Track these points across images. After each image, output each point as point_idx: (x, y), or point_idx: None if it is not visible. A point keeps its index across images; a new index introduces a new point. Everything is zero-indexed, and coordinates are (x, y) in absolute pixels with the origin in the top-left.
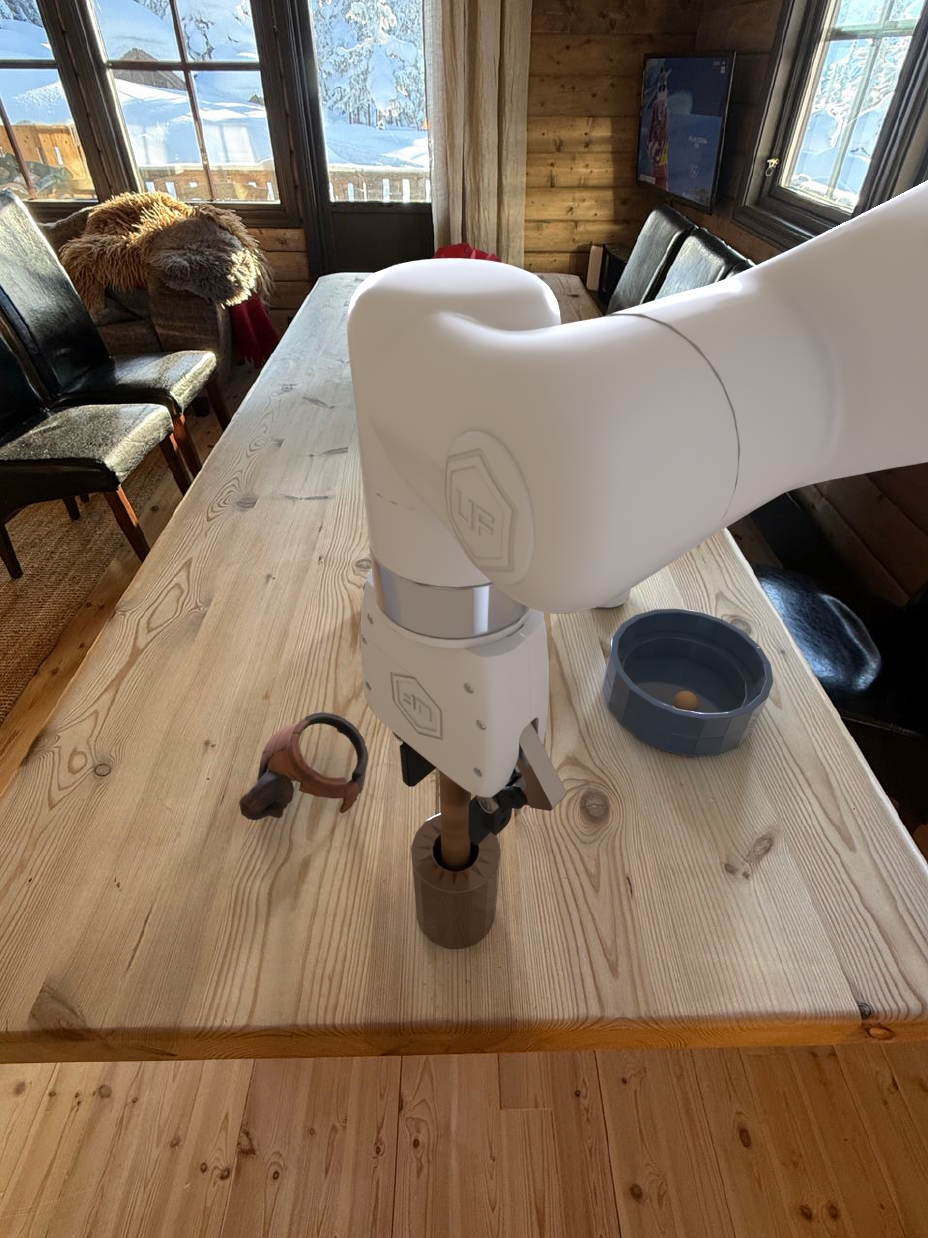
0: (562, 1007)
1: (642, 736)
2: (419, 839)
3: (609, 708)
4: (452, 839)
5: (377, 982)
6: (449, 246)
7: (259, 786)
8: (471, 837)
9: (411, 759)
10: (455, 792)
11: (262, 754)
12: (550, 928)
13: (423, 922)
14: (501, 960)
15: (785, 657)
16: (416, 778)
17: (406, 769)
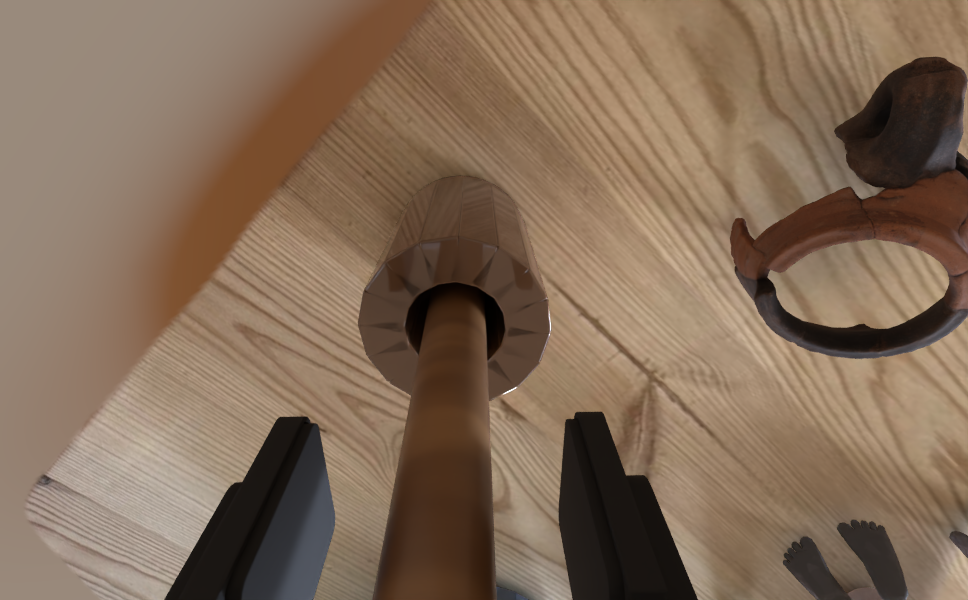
0: (249, 246)
1: None
2: (529, 293)
3: (512, 593)
4: (430, 354)
5: (465, 62)
6: None
7: (950, 124)
8: (287, 432)
9: (596, 544)
10: (396, 526)
11: None
12: (342, 314)
13: (466, 185)
14: (355, 232)
15: None
16: (570, 452)
17: (598, 481)
